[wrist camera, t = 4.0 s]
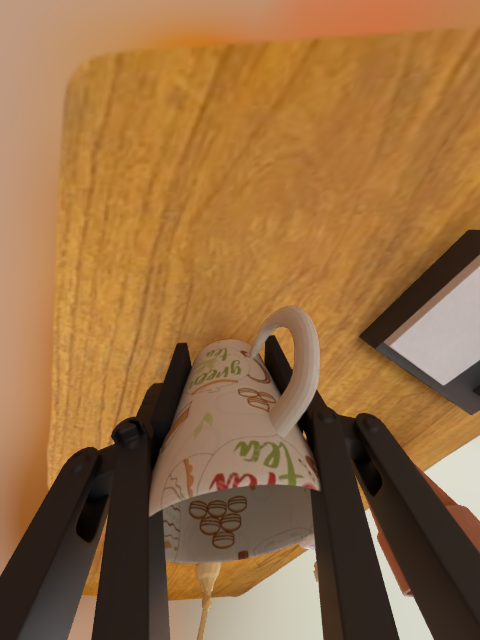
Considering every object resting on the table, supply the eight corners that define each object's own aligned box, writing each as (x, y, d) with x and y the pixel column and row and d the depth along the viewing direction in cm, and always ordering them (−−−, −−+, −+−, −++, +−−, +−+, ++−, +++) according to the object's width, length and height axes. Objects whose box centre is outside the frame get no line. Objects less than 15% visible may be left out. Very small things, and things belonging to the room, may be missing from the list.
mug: (169, 388, 17) (116, 568, 8) (215, 257, 12) (208, 349, 3) (250, 405, 19) (278, 559, 10) (317, 299, 14) (479, 423, 5)
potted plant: (353, 486, 38) (538, 847, 16) (331, 460, 32) (574, 966, 10) (418, 461, 36) (743, 841, 14) (408, 427, 30) (938, 990, 8)
